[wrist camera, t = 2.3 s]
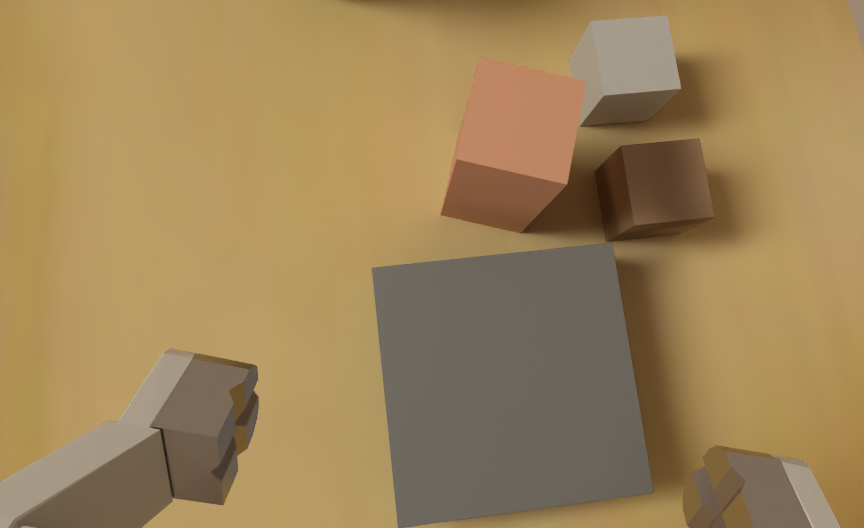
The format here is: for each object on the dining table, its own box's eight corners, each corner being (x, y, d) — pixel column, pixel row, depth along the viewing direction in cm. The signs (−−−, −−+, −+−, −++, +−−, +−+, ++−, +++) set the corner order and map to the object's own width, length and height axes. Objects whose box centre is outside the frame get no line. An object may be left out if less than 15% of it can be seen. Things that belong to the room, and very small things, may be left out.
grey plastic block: (579, 126, 37) (603, 95, 33) (568, 61, 38) (591, 21, 33) (647, 120, 37) (681, 88, 33) (635, 55, 38) (667, 15, 34)
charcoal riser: (398, 508, 33) (398, 528, 29) (374, 278, 35) (371, 268, 31) (624, 477, 34) (653, 492, 30) (588, 255, 36) (612, 242, 32)
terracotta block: (520, 233, 36) (567, 184, 26) (440, 214, 36) (456, 159, 26) (535, 156, 37) (586, 81, 27) (457, 138, 36) (479, 56, 27)
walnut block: (605, 241, 36) (634, 225, 32) (594, 171, 37) (620, 145, 32) (676, 234, 36) (714, 217, 32) (663, 165, 37) (699, 138, 33)
